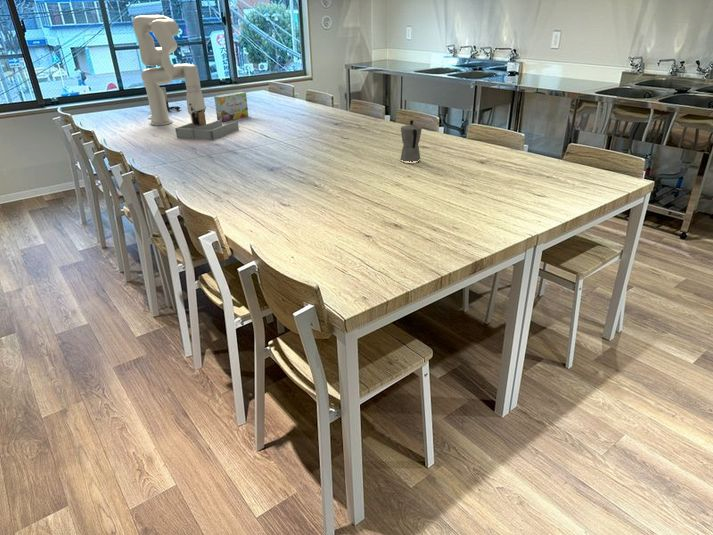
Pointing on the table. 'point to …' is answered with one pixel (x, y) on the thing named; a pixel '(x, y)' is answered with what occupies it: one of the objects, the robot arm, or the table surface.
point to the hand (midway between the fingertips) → (199, 122)
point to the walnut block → (200, 118)
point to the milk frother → (167, 101)
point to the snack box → (231, 106)
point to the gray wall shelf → (206, 130)
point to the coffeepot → (410, 142)
